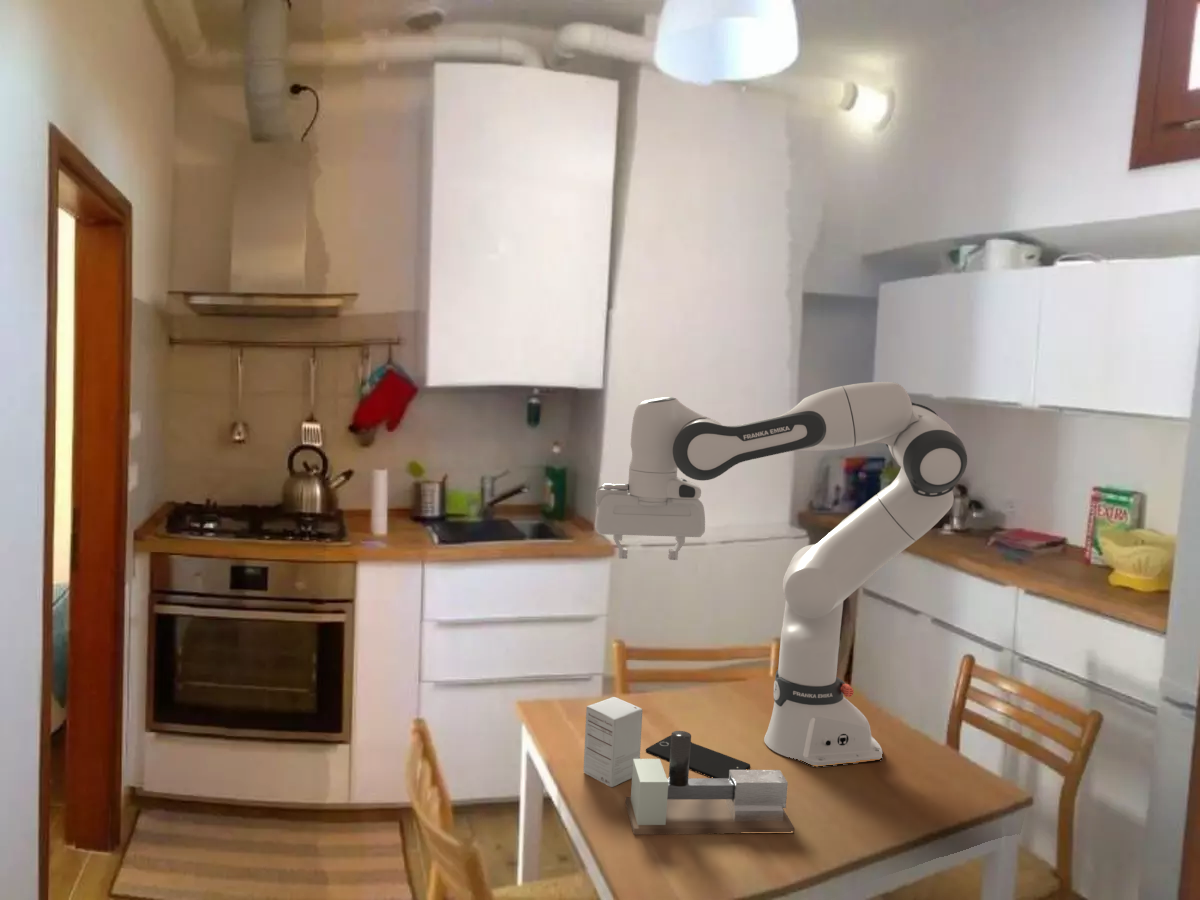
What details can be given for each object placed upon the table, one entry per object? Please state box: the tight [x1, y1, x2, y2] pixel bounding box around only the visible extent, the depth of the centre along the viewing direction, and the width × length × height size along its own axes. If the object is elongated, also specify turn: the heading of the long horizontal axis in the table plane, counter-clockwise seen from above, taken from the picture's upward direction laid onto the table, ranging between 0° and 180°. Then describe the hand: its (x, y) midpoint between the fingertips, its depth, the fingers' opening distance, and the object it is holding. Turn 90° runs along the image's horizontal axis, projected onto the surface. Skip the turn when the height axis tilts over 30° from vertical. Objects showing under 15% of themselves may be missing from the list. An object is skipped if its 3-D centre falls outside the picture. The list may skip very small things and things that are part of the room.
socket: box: [630, 758, 668, 825], centre depth 150 cm, size 4×8×7 cm, turn 6°
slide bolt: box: [667, 730, 735, 799], centre depth 150 cm, size 15×3×10 cm, turn 96°
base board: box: [625, 796, 795, 835], centre depth 151 cm, size 26×10×1 cm, turn 96°
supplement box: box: [583, 696, 643, 788], centre depth 164 cm, size 7×7×13 cm
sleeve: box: [726, 769, 789, 821], centre depth 152 cm, size 9×6×6 cm
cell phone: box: [645, 735, 751, 778], centre depth 172 cm, size 9×18×1 cm, turn 52°
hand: (647, 558), depth 171 cm, fingers open, 8 cm apart
